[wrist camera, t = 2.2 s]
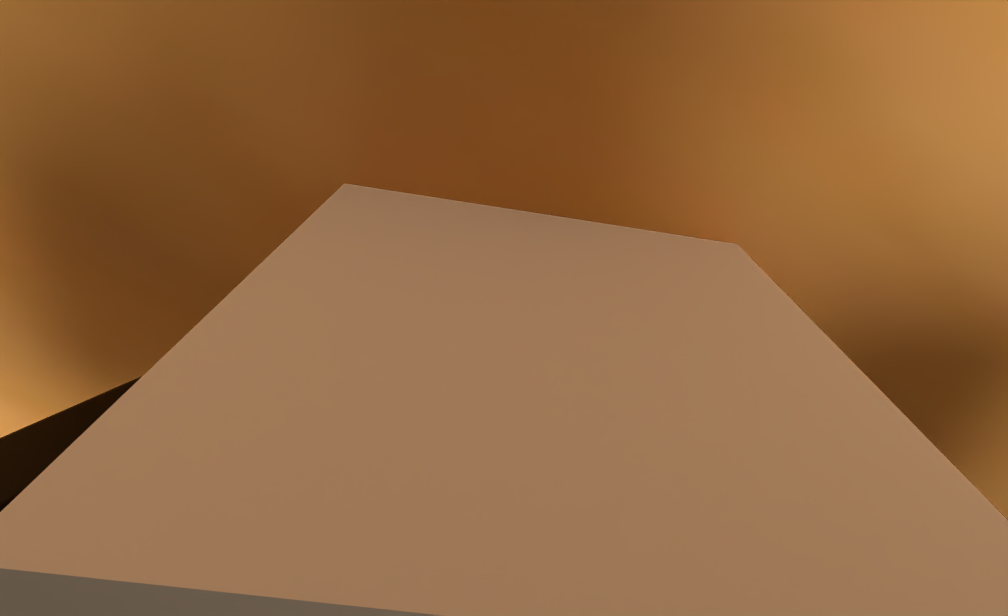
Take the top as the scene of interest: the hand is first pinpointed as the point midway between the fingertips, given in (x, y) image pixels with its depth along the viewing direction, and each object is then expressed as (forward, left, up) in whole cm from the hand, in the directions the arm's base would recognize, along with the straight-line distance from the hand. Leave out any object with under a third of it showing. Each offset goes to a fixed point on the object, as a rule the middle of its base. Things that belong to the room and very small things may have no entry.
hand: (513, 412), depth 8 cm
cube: (0, 0, -1) cm, 1 cm away
